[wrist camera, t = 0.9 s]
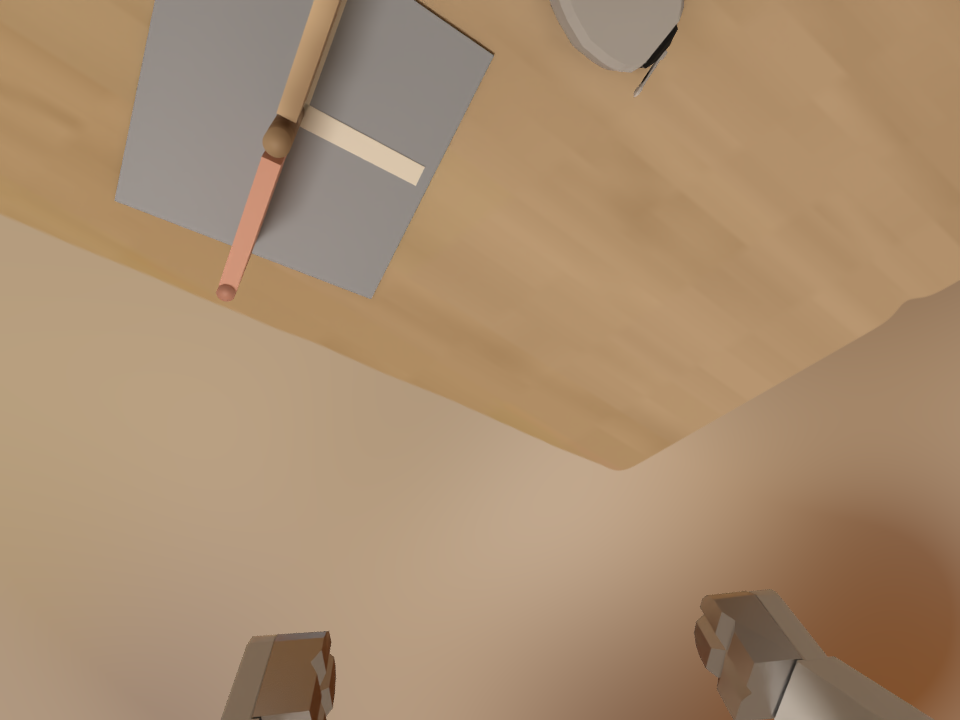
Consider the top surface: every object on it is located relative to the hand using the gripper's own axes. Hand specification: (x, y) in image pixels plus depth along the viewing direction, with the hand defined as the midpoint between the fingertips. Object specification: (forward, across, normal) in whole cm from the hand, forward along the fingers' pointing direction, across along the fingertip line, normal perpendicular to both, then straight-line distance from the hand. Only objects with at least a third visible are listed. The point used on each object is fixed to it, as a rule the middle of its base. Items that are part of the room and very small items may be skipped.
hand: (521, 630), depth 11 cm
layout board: (+38, +11, -10) cm, 41 cm away
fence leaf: (+39, +15, -6) cm, 42 cm away
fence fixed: (+37, +9, -16) cm, 41 cm away
